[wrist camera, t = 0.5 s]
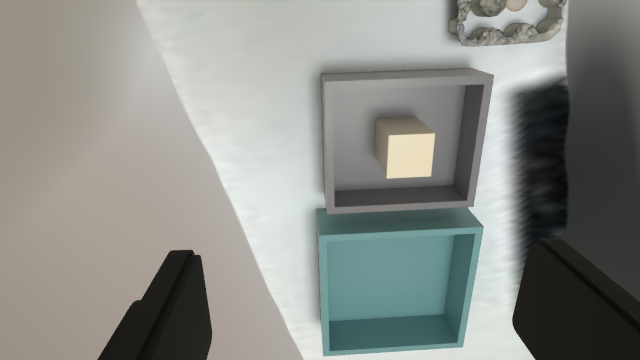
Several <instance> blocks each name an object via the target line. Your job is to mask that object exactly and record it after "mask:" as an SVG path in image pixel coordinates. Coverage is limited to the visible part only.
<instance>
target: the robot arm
mask: <svg viewBox="0 0 640 360" xmlns="http://www.w3.org/2000/svg"><path fill="white" fill-rule="evenodd" d="M512 322H513V327H514V329H515V331H516V333H517V334H518V336H519V337H520V338H521V340H522V341H523V343H524V344H525V345H526V347H527V348H528V350H529V351H530V353H531V354H532V355H533V357H534V358H535V360H640V302H639V301H638V300H637V299H635V298H634V297H633V296H632V295H630V294H629V293H628V292H627V291H625V290H624V289H623V288H622V287H620V286H619V285H618V284H617V283H616V282H614V281H613V280H612V279H610V278H609V277H608V276H607V275H606V274H604V273H603V272H602V271H601V270H599V269H598V268H597V267H596V266H594V265H593V264H592V263H591V262H589V261H588V260H587V259H586V258H585V257H583V256H582V255H581V254H579V253H578V252H577V251H576V250H575V249H573V248H572V247H571V246H570V245H568V244H567V243H566V242H565V241H563V240H562V239H539V240H537V241H536V242H535V243H534V244H533V245H531V246H530V248H529V251H528V255H527V259H526V263H525V268H524V272H523V276H522V280H521V284H520V288H519V293H518V297H517V301H516V305H515V309H514V313H513V318H512ZM211 340H212V328H211V321H210V314H209V308H208V301H207V295H206V287H205V280H204V274H203V267H202V260H201V256H200V255H194V252H193V250H174V251H173V250H172V251H170V252H169V254H168V255H167V257H166V258H165V260H164V262H163V264H162V265H161V267H160V269H159V270H158V272H157V274H156V276H155V277H154V279H153V281H152V282H151V284H150V286H149V287H148V290H147V291H146V293H145V294H144V296H143V298H142V299H141V300H137V301H135V302H133V303H132V305H131V306H130V308H129V309H128V311H127V312H126V314H125V316H124V317H123V319H122V320H121V322H120V324H119V325H118V327H117V329H116V330H115V332H114V334H113V335H112V337H111V339H110V340H109V342H108V343H107V345H106V347H105V348H104V350H103V352H102V353H101V355H100V356H99V358H98V360H206V359H207V356H208V352H209V348H210V345H211Z"/></svg>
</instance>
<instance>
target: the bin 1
mask: <svg viewBox="0 0 640 360" xmlns="http://www.w3.org/2000/svg"><path fill="white" fill-rule="evenodd" d="M493 78H494V75H492V74H488V73H485V72H482V71H479V70H476V69H473V68H462V69H435V70H409V71H383V72H357V73H330V74H321V89H322V126H323V162H324V195H325V202H326V209H327V214H344V213H363V212H383V211H402V210H421V209H440V208H460V207H473V206H474V199H475V193H476V187H477V180H478V174H479V168H480V161H481V155H482V149H483V142H484V136H485V129H486V123H487V117H488V110H489V104H490V98H491V91H492V85H493ZM409 117H417V118H418V119H419V120H421V121H422V122H423V123H424V124H425V125H426V126H427V127H429V128H430V129H431V130H432V131H433V132H434V133H435V141H434V151H433V161H432V171H431V176H429V177H408V178H388V179H387V178H386V176H385V174H384V173H383V171H382V169H381V167H380V165H379V163H378V161H377V160H376V158H375V148H376V119H386V118H409Z"/></svg>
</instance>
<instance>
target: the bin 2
mask: <svg viewBox="0 0 640 360" xmlns="http://www.w3.org/2000/svg"><path fill="white" fill-rule="evenodd" d="M483 228H484V227H483V225H482V224H481V223H480V222H479V221H478V220H477V218H476V217H475V216H474V215H473V214H472V213H471V212H470V210H469V209H468V208H467V207H460V208H440V209H421V210H402V211H383V212H363V213H344V214H327V209H317V234H318V260H319V287H320V314H321V331H322V344H323V356H335V355H350V354H366V353H381V352H396V351H411V350H426V349H441V348H457V347H463V343H464V337H465V331H466V326H467V320H468V314H469V308H470V303H471V297H472V291H473V286H474V280H475V274H476V268H477V263H478V257H479V251H480V245H481V240H482V234H483Z"/></svg>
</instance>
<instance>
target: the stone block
mask: <svg viewBox="0 0 640 360" xmlns="http://www.w3.org/2000/svg"><path fill="white" fill-rule="evenodd" d="M434 141H435V133H434V132H433V131H432V130H431V129H430V128H429V127H427V126H426V125H425V124H424V123H423V122H422V121H421V120H419V119H418V118H417V117H409V118H386V119H376V148H375V158H376V160H377V161H378V163H379V165H380V167H381V169H382V171H383V173H384V174H385V176H386V178H387V179H388V178H408V177H429V176H431V171H432V161H433V151H434Z"/></svg>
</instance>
